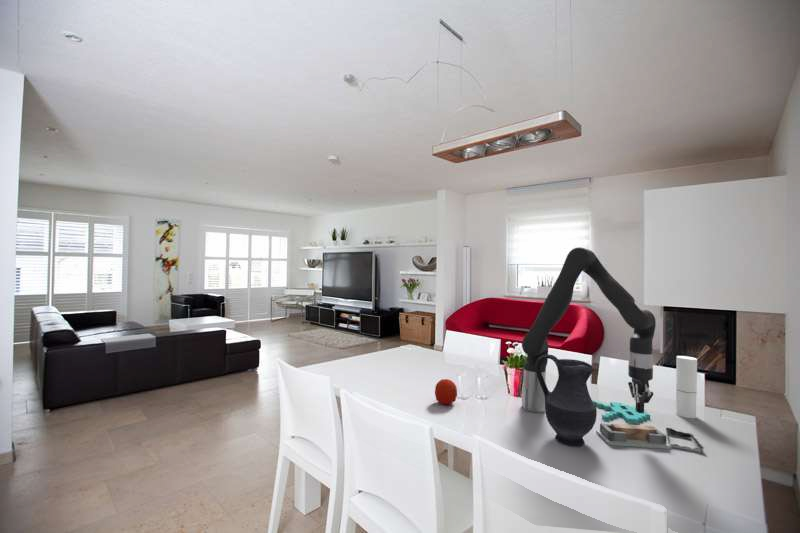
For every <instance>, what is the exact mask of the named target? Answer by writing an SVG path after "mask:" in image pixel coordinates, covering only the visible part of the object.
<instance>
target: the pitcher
mask: <svg viewBox="0 0 800 533" xmlns="http://www.w3.org/2000/svg"><path fill="white" fill-rule="evenodd" d="M547 358H548V359H549V360H551V361H552V362H554V364H555V365H556V368H557V374H558V375H557V376H558V377H557V381H556V384H555V386H554V388H553V390H552V391H550V390H549V388H548V387H547V384H546V383H545V381H544V379H543V376H542V374H541V371H540V362H541V361H542V360H544V359H547ZM535 370H536V374H537V377H538V380H539V383H540V385H541V388H542V390H543V392H544V396H545V411H544V412H545V417H546V419H547V422H548V424H549V426H550V427H551V428H552V429H553V431H554V432H555V433H556V434H555V436H554V438H555V441H556V442H558V443H559V444H562V445H564V446H568V447H573V448H577V447H582V446H584V445H585V443H586V442H585V440H584V438H583V437H585V436H587V434H588V433H590V432H591V431H592V429H593V428H594V426H595V424H596V421H597V412H598V411H597V406H595V404H594V402H593V401H592V400H593V399H592V397H591V395H590V392H589V390H588V389H589V388H588V385H587V382H588V380H589V379H590V376H592V374H593V373H594V372H595V370H596V367H594V366H593V365H592V364H590V363H589V362H586V361H583V360H579V359H572V358H571V359H569V358H561V359H558V357H556V356H555V355H553V354H548V355H543V356H541V357H539V358H538V359H537V361H536V364H535Z"/></svg>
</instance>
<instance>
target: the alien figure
mask: <svg viewBox="0 0 800 533" xmlns="http://www.w3.org/2000/svg"><path fill="white" fill-rule="evenodd" d="M592 401H593V402H594V404H595V406H596V408H597V407H598V409H603V410H604V411H609V412H605V413H604V414H601V420H603V421H604V422H605V421H606V422H610V420H614V419H618V417H620V418H622V419H623V420H624V421H625V422H626V423H628V424H634V425H639V424H640V423H644V421H647V420H651V414H650V413H648V412H647V411H646V410H645V409H644V413H638V412H636V406H630V405H629V404H624V403H622V402H618V401H617V402H616V401H609V402H610V403H609V404H605V403H602V402H600V401H599V402H597V401H596V400H595V399H592Z"/></svg>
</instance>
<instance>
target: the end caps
mask: <svg viewBox="0 0 800 533" xmlns="http://www.w3.org/2000/svg"><path fill="white" fill-rule="evenodd" d="M611 424H612V423H601V422H600V423H599V430H600V432H601V433H602V434H603V435H604V436H605V437H606V438H607V439H608V440H609V441H620V442H626V433H625V432H622V431H612V430H611ZM652 427H653V428H655V429H656V430H657V434H654V433H648V437H647V442H649V443H651V444H666V443H667V434H665V433H663V432H662V431H660V430H659V429H658V428H656V427H655V426H652Z"/></svg>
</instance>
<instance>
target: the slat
mask: <svg viewBox="0 0 800 533" xmlns="http://www.w3.org/2000/svg"><path fill="white" fill-rule="evenodd" d="M610 424H611V430H612V431H622V432H625V433H626V439H630V440H645V441H647V437H648V433H654V434H657V430H658V429H657V428H656V427H655V428H656V429H657V430H656V429H655V428H653V427H654V426H653V425H643V424H642V425H639V424H623V423H610Z"/></svg>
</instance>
